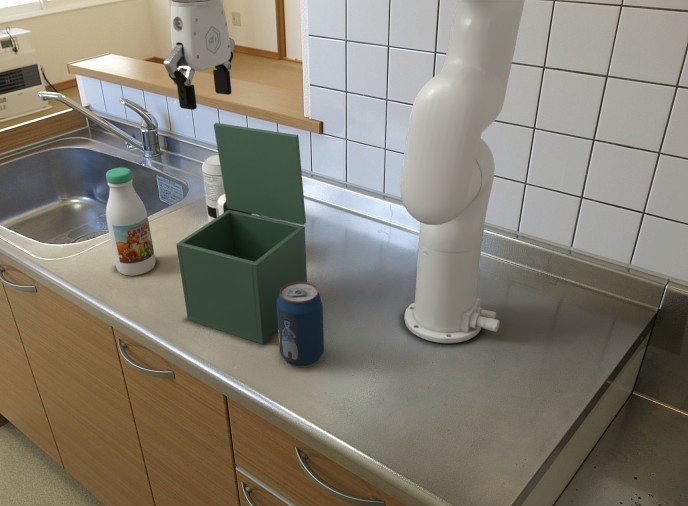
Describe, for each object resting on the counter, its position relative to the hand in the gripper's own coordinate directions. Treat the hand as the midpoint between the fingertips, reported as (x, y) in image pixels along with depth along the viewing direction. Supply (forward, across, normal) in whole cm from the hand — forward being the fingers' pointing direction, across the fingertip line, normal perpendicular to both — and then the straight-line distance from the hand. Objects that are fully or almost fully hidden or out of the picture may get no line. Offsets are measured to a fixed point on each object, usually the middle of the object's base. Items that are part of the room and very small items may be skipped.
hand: (206, 100), depth 115 cm
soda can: (+32, -19, -29) cm, 47 cm away
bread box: (+32, -12, -14) cm, 37 cm away
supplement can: (+32, +15, +10) cm, 37 cm away
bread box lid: (+9, -6, -14) cm, 18 cm away
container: (+32, +4, -1) cm, 32 cm away
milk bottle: (+32, -9, +15) cm, 37 cm away
